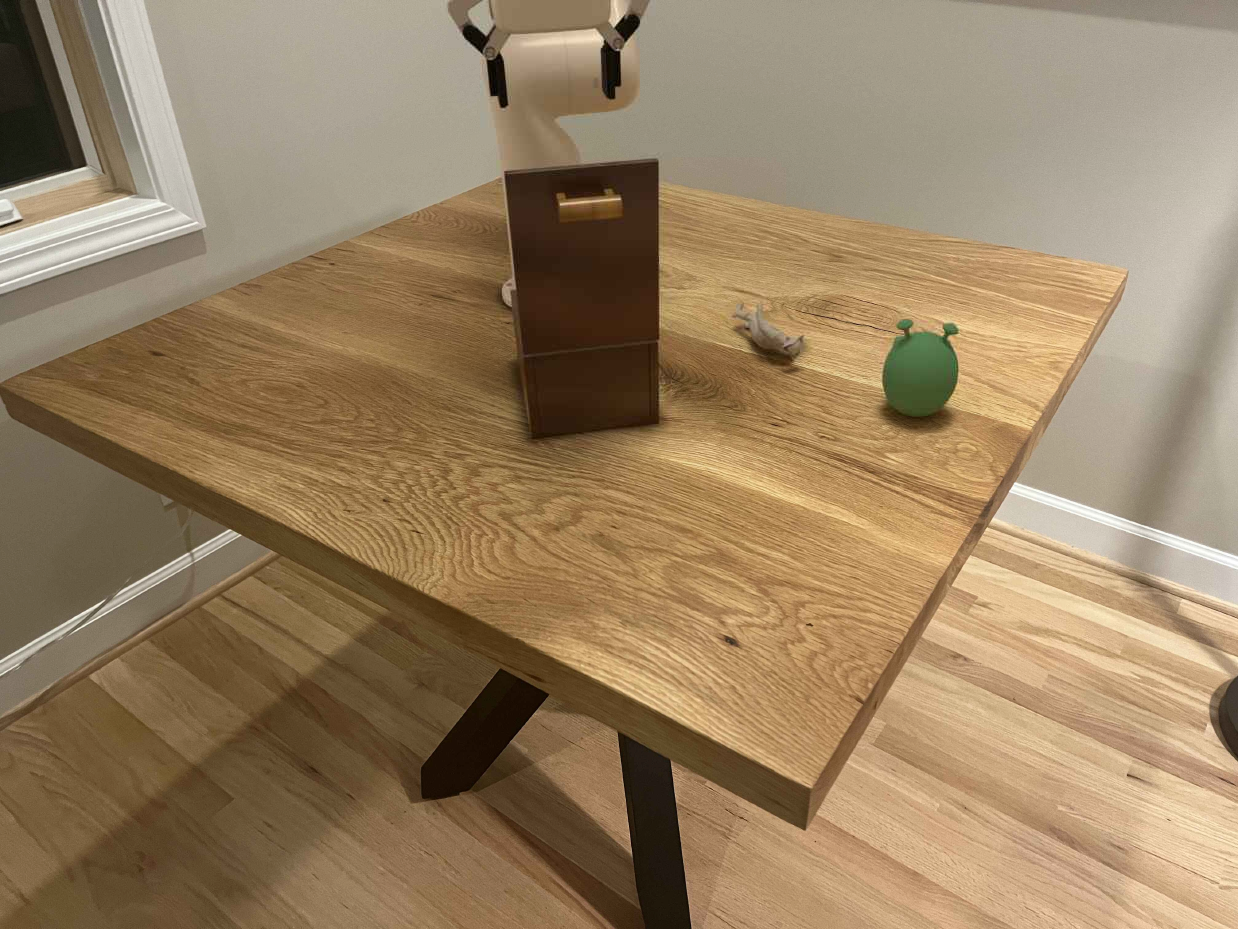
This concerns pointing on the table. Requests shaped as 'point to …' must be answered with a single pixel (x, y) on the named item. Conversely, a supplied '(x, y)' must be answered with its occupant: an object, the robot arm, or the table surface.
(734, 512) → the table surface
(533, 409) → the chest
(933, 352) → the alien toy
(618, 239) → the lid
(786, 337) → the grey animal figurine
